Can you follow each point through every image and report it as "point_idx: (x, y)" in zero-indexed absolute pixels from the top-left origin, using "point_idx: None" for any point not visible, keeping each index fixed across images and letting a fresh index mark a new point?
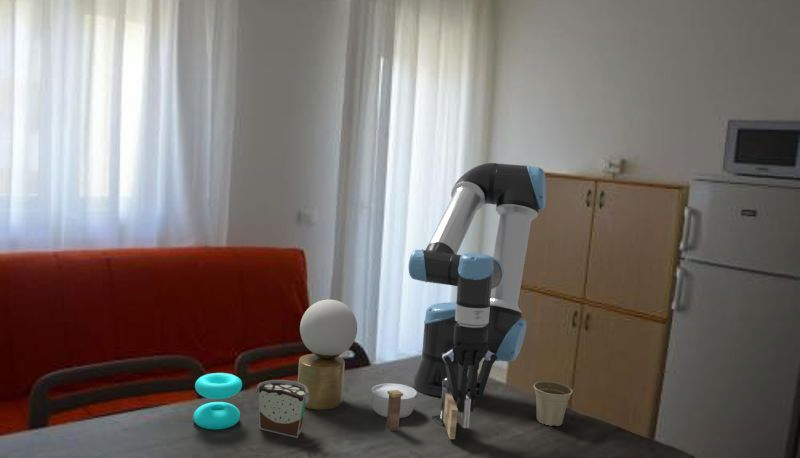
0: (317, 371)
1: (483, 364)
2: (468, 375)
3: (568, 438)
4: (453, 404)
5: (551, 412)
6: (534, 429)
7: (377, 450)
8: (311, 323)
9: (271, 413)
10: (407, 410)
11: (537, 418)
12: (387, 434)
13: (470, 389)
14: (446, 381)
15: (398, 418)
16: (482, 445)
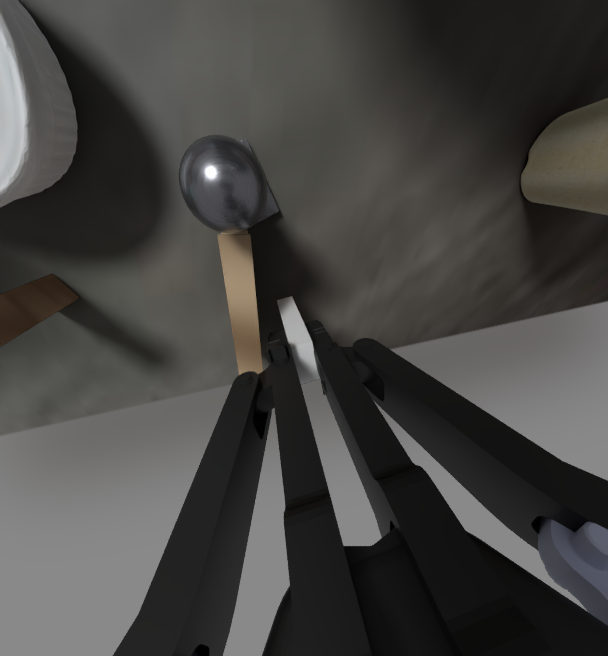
0: None
1: (494, 472)
2: (345, 422)
3: (515, 271)
4: (252, 363)
5: (572, 208)
6: (477, 229)
7: (69, 416)
8: None
9: None
10: (52, 177)
11: (530, 163)
12: (56, 334)
13: (329, 400)
14: (211, 223)
15: (50, 314)
16: None
